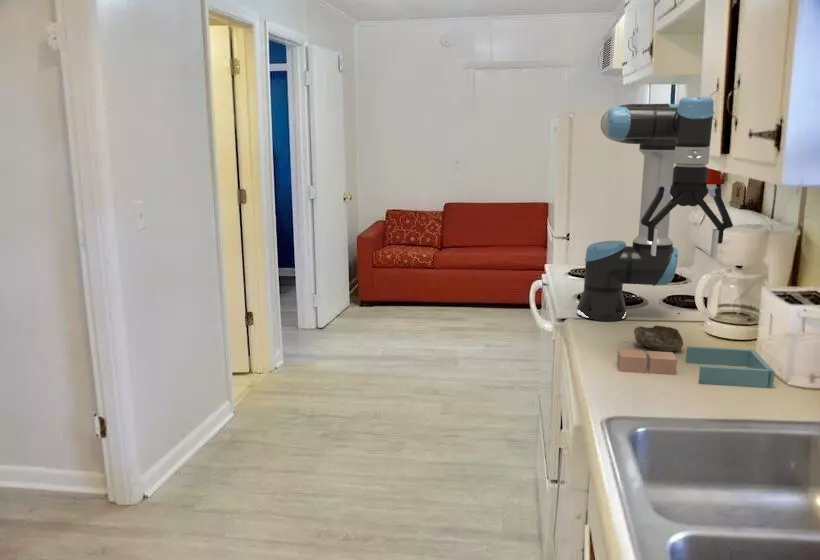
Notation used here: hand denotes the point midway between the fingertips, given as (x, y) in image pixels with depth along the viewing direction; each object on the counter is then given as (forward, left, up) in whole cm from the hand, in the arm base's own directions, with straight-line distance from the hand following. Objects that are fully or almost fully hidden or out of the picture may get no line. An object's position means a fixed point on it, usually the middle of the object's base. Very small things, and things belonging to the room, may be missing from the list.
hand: (683, 256), depth 171 cm
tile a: (+2, -3, -28) cm, 28 cm away
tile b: (+2, -10, -28) cm, 30 cm away
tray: (+2, +12, -28) cm, 30 cm away
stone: (-17, -1, -28) cm, 33 cm away
